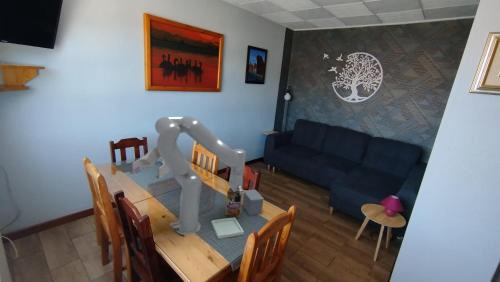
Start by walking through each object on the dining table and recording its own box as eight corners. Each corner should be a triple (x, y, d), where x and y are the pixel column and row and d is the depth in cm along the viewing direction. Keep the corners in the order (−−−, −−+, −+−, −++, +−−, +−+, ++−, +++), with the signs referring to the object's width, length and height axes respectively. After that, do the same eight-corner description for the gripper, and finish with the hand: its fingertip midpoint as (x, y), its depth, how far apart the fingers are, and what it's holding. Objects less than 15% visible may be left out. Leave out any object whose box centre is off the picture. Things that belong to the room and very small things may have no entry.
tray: (218, 239, 113) (218, 236, 113) (211, 223, 126) (211, 220, 125) (243, 235, 119) (243, 231, 118) (234, 220, 131) (234, 217, 131)
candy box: (224, 214, 136) (227, 191, 132) (226, 211, 140) (228, 188, 136) (239, 217, 134) (242, 193, 131) (241, 213, 139) (243, 190, 135)
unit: (249, 216, 137) (251, 200, 134) (241, 205, 148) (243, 190, 146) (262, 214, 140) (264, 198, 138) (253, 204, 151) (255, 189, 149)
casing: (159, 180, 172) (160, 155, 167) (132, 175, 175) (132, 150, 171) (178, 169, 198) (178, 146, 194) (153, 164, 202) (154, 142, 197)
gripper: (226, 165, 137) (224, 191, 141) (236, 176, 122) (233, 205, 125) (238, 165, 140) (235, 190, 144) (249, 176, 125) (246, 204, 129)
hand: (234, 197), depth 135 cm, fingers open, 9 cm apart
